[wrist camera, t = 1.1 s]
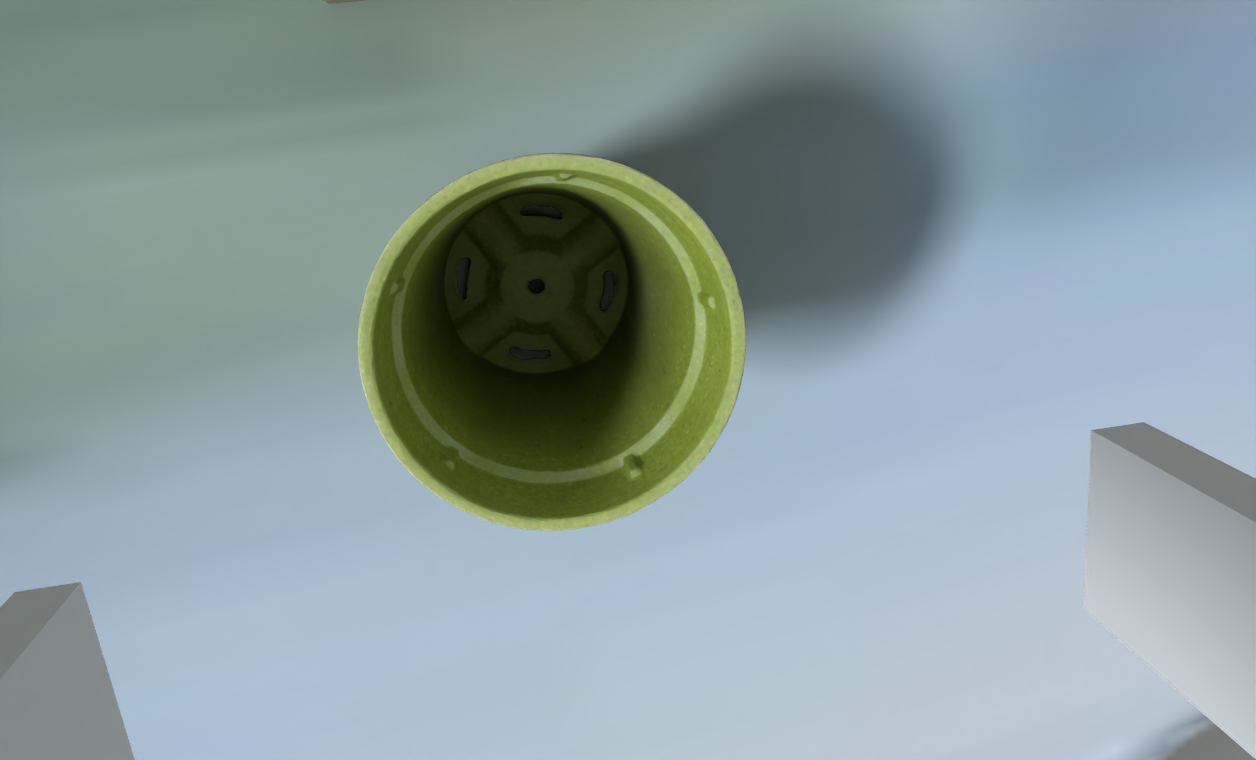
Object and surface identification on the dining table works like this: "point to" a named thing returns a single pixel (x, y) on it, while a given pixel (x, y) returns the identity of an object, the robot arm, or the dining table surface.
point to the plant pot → (552, 342)
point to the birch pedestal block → (338, 0)
